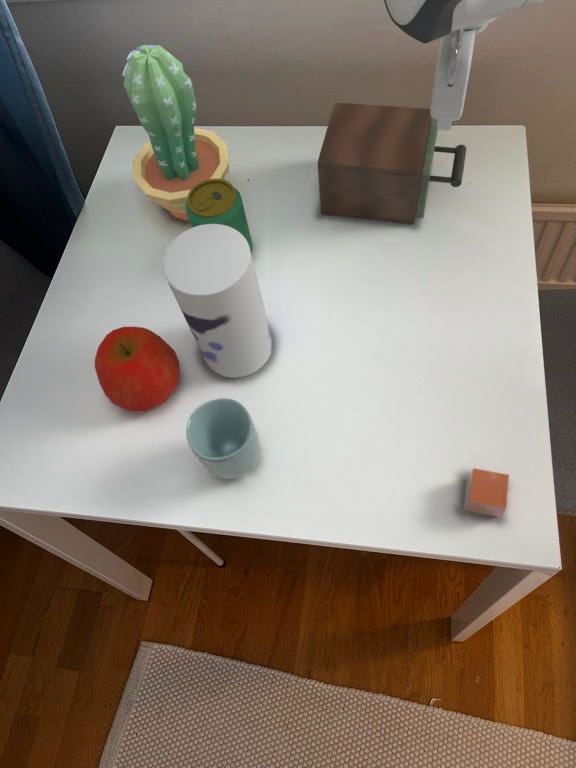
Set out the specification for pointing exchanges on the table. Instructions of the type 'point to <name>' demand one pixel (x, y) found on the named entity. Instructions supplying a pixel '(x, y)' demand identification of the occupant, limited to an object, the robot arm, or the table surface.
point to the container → (220, 298)
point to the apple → (136, 368)
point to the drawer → (427, 167)
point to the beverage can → (217, 206)
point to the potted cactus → (170, 130)
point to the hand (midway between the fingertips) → (448, 101)
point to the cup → (223, 438)
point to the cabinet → (373, 162)
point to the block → (486, 492)
